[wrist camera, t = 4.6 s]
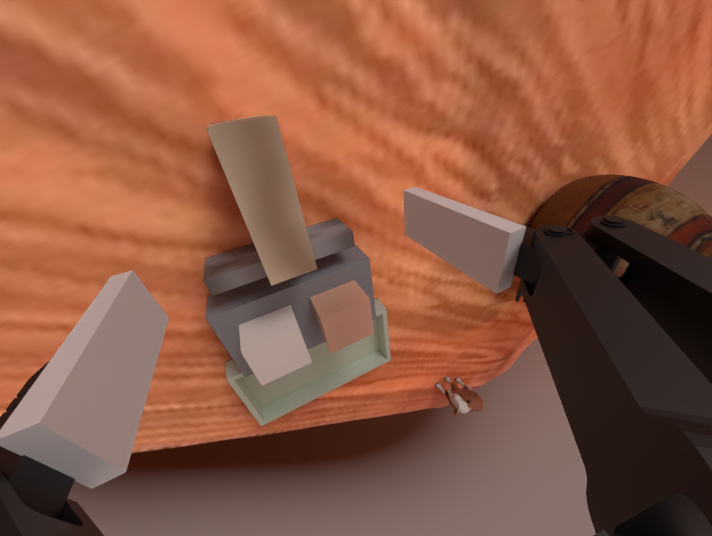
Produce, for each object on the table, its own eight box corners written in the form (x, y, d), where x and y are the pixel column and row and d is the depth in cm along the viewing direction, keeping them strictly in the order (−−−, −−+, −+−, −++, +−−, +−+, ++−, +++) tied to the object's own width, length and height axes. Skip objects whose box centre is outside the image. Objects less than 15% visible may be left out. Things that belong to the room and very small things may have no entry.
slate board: (242, 353, 30) (245, 377, 27) (207, 296, 25) (205, 318, 22) (363, 302, 34) (376, 318, 31) (355, 244, 29) (369, 258, 26)
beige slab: (213, 272, 24) (211, 327, 18) (137, 136, 17) (90, 147, 11) (339, 231, 27) (374, 265, 21) (316, 105, 21) (356, 101, 15)
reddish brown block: (320, 330, 28) (330, 353, 26) (309, 297, 26) (320, 319, 23) (360, 313, 30) (374, 333, 27) (354, 279, 27) (369, 298, 24)
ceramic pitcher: (595, 141, 39) (1157, 181, 16) (586, 231, 52) (887, 327, 28) (499, 224, 39) (924, 390, 15) (513, 294, 51) (758, 442, 28)
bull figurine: (438, 369, 53) (468, 403, 47) (465, 378, 61) (493, 408, 55) (425, 384, 54) (452, 420, 47) (453, 390, 62) (480, 422, 56)
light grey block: (257, 357, 26) (261, 385, 24) (238, 325, 24) (241, 352, 21) (303, 338, 28) (312, 362, 25) (290, 304, 25) (299, 328, 22)
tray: (259, 409, 35) (261, 426, 34) (225, 362, 29) (226, 379, 27) (382, 348, 41) (390, 360, 39) (377, 297, 35) (386, 308, 33)
